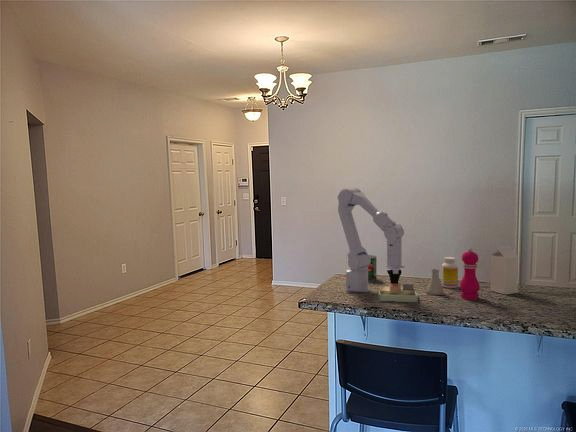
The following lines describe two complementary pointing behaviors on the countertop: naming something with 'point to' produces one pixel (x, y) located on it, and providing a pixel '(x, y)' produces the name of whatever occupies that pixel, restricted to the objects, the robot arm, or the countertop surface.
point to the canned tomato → (372, 269)
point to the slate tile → (407, 285)
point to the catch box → (399, 298)
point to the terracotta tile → (394, 288)
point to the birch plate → (385, 291)
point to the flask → (435, 284)
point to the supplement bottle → (449, 273)
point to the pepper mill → (469, 276)
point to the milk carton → (504, 271)
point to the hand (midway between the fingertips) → (394, 287)
